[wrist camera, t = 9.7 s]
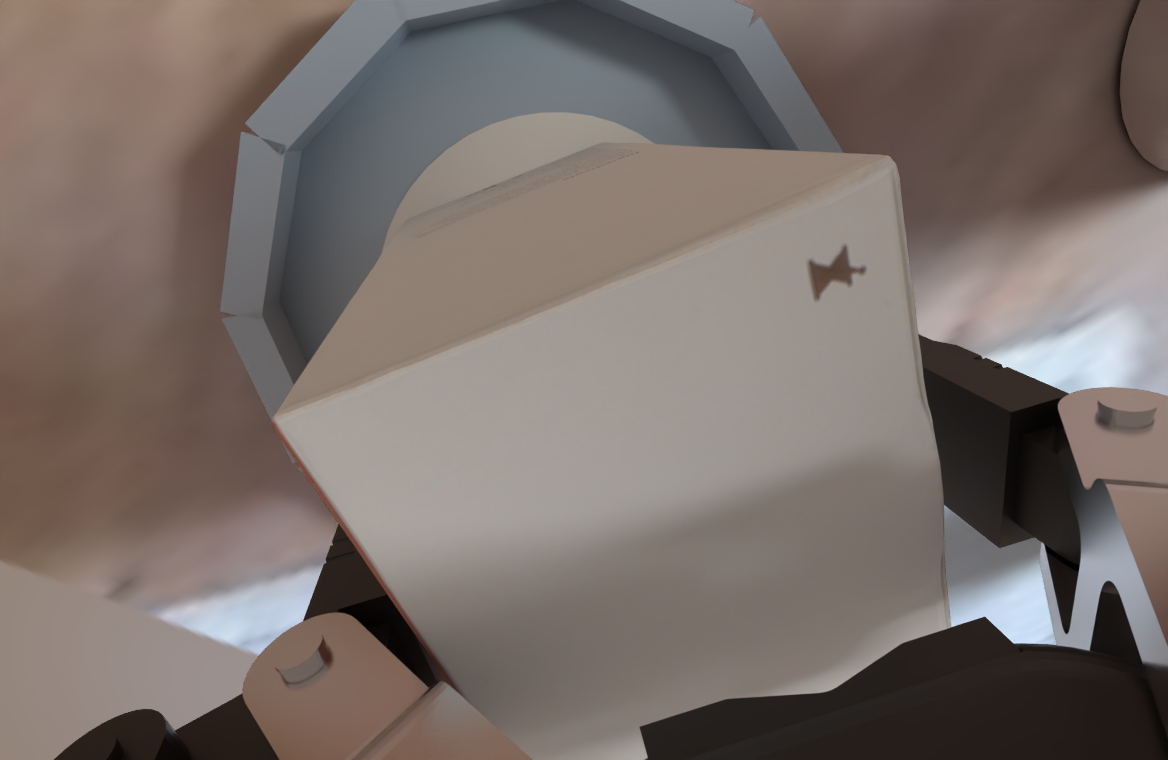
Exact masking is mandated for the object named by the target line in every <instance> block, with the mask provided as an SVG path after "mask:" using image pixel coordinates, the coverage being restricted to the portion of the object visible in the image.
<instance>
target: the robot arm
mask: <svg viewBox="0 0 1168 760" xmlns="http://www.w3.org/2000/svg"><path fill="white" fill-rule="evenodd" d="M1120 99H1121V107H1122V115H1123V121H1124V123H1125V126H1126V129H1127V132H1128V134H1129V137H1130V140H1131V142H1132V143H1133V145H1134V146H1135V147H1136V149H1137V150H1138V151H1139V153H1140V154H1141V155H1142V157H1143V158H1144V159H1146V160H1147V161H1149V162H1150V163H1151V164H1153V165H1154V166H1156V167H1157V168H1159V169H1161V170H1164V171H1168V0H1140V3H1139V5H1138V8H1137V10H1136V13H1135V16H1134V18H1133V21H1132V23H1131V26H1130V29H1129V33H1128V37H1127V41H1126V46H1125V50H1124V54H1123V59H1122V66H1121V81H1120ZM918 336H919V343H920V350H921V358H922V368H923V377H924V384H925V390H926V396H927V401H928V406H929V409H930V412H931V416H932V422H933V428H934V434H935V439H936V445H937V450H938V455H939V461H940V468H941V477H942V487H943V496H944V505H945V506H947V507H948V508H949V509H950V510H952V511H953V512H954V513H955V514H957V515H958V516H959V517H961V518H962V519H963V520H964V521H966V522H967V523H968V524H969V525H971V526H972V527H973V528H975V529H976V530H977V531H978V532H980V533H981V534H982V535H983V536H985V537H986V538H987V539H989V540H990V541H991V542H992V543H994V544H995V545H996V546H997V547H999V548H1001V547H1005V546H1008V545H1011V544H1014V543H1017V542H1021V541H1024V540H1027V539H1030V538H1034V537H1035V538H1037V539H1038V540H1039V541H1041V548H1040V556H1039V562H1040V568H1041V573H1042V578H1043V583H1044V588H1045V593H1046V597H1047V602H1048V607H1049V612H1050V617H1051V622H1052V627H1053V632H1054V637H1055V642H1056V645H1049V644H1013V643H1012V642H1011V641H1010V640H1009V639H1008V638H1007V637H1006V636H1005V635H1004V634H1003V633H1002V632H1001V631H1000V630H998V629H997V628H996V627H995V626H994V625H993V624H992V623H991V622H990V621H989V620H988V619H987V618H986V617H982V618H979V619H976V620H973V621H970V622H967V623H964V624H960V625H957V626H954V627H951V628H948V629H945V630H942V631H938V632H935V633H932V634H929V635H926V636H923V637H920V638H916V639H913V640H910V641H907V642H904V643H902V644H900V645H899V646H897V647H896V648H894V649H893V650H891V651H890V652H888V653H887V654H885V655H884V656H882V657H881V658H879V659H878V660H876V661H875V662H873V663H872V664H870V665H869V666H867V667H866V668H865V669H863V670H862V671H860V672H859V673H857V674H856V675H854V676H853V677H851V678H850V679H848V680H847V681H845V682H844V683H842V684H841V685H839V686H838V687H836V688H834V689H832V690H830V691H827V692H822V693H810V694H795V695H779V696H764V697H748V698H733V699H725V700H722V701H718V702H715V703H712V704H709V705H706V706H703V707H700V708H696V709H693V710H690V711H687V712H684V713H681V714H678V715H674V716H671V717H668V718H665V719H662V720H659V721H656V722H653V723H649V724H646V725H643V726H640V731H641V735H642V738H643V742H644V746H645V749H646V753H647V757H648V758H646V759H645V760H1168V396H1165V395H1162V394H1158V393H1154V392H1150V391H1144V390H1138V389H1130V388H1115V387H1105V388H1091V389H1085V390H1080V391H1076V392H1073V393H1071V394H1069V393H1066V392H1064V391H1062V390H1059V389H1057V388H1055V387H1052V386H1050V385H1048V384H1045V383H1043V382H1041V381H1038V380H1036V379H1034V378H1031V377H1029V376H1027V375H1025V374H1022V373H1020V372H1018V371H1015V370H1013V369H1011V368H1008V367H1006V368H1003V367H1002V365H1001V364H999V363H997V362H994V361H992V360H990V359H987V358H985V359H982V357H981V356H980V355H978V354H976V353H974V352H971V351H969V350H967V349H964V348H962V347H960V346H957V345H953V344H947V343H942V342H937V341H932V340H930V339H928V338H926V337H923V336H921V335H919V334H918ZM332 543H333V545H332V546H330V549H329V552H328V554H327V557H326V564H324V565H323V568H322V571H321V574H320V576H319V579H318V582H317V584H316V587H315V590H314V593H313V595H312V598H311V601H310V604H309V606H308V609H307V612H306V614H305V617H304V620H303V622H301V623H299V624H297V625H295V626H294V627H292V628H290V629H289V630H287V631H286V632H284V633H283V634H281V635H280V636H279V637H278V638H276V639H275V640H274V641H273V642H272V643H271V644H270V645H268V646H267V647H266V648H265V649H264V651H263V652H262V653H261V654H260V655H259V656H258V658H257V659H256V660H255V662H254V663H253V664H252V666H251V668H250V669H249V671H248V673H247V675H246V678H245V680H244V685H243V693H242V694H241V695H239V696H237V697H236V698H234V699H232V700H230V701H228V702H227V703H225V704H223V705H221V706H219V707H217V708H216V709H214V710H212V711H210V712H208V713H206V714H204V715H203V716H201V717H199V718H197V719H195V720H193V721H192V722H190V723H188V724H186V725H185V726H182V727H181V728H179V729H177V730H174V729H173V728H172V727H171V725H170V724H169V723H168V721H167V720H166V719H165V718H164V716H163V715H162V714H161V713H159V712H158V711H155V710H152V709H141V710H135V711H131V712H128V713H124V714H122V715H120V716H117V717H115V718H113V719H110V720H108V721H106V722H104V723H102V724H101V725H99V726H97V727H96V728H94V729H92V730H91V731H89V732H88V733H86V734H85V735H83V736H82V737H81V738H79V739H78V740H76V741H75V742H74V743H73V744H71V745H70V746H69V747H68V748H66V749H65V750H64V751H63V752H62V753H61V754H60V755H58V756H57V757H56V758H55V759H54V760H532V759H531V758H530V757H529V756H528V755H527V754H526V753H525V752H524V751H522V750H521V749H520V748H519V747H518V746H517V745H516V744H515V743H513V742H512V741H511V740H510V739H509V738H508V737H507V736H506V735H505V734H503V733H502V732H501V731H500V730H499V729H498V728H497V727H496V726H495V725H493V724H492V723H491V722H490V721H489V720H488V719H487V718H486V717H484V716H483V715H482V714H481V713H480V712H479V711H478V710H477V709H476V708H474V707H473V706H472V705H471V704H470V703H469V702H468V701H467V700H466V699H464V698H463V697H462V696H461V695H460V694H459V693H458V692H457V691H455V690H454V689H453V688H452V687H451V686H450V684H449V683H448V681H447V680H446V678H445V676H444V675H443V673H442V671H441V670H440V668H439V667H438V665H437V664H436V663H435V661H434V660H433V658H432V657H431V656H430V654H429V653H428V652H427V650H426V649H425V648H424V646H423V645H422V643H421V642H420V641H419V639H418V638H417V636H416V635H415V633H414V632H413V631H412V629H411V628H410V626H409V625H408V623H407V622H406V620H405V619H404V618H403V616H402V615H401V613H400V612H399V610H398V609H397V607H396V606H395V605H394V603H393V602H392V600H391V599H390V597H389V596H388V594H387V593H386V591H385V590H384V589H383V587H382V586H381V584H380V583H379V581H378V580H377V578H376V577H375V575H374V574H373V572H372V571H371V570H370V568H369V567H368V565H367V564H366V562H365V561H364V559H363V558H362V556H361V555H360V553H359V552H358V550H357V549H356V547H355V546H354V545H353V543H352V542H351V540H350V539H349V537H348V536H347V535H346V533H345V532H344V530H343V529H342V527H341V526H340V525H339V524H338V527H337V530H336V533H335V535H334V538H333V541H332Z"/></svg>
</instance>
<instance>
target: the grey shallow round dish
mask: <svg viewBox="0 0 1168 760" xmlns="http://www.w3.org/2000/svg"><path fill="white" fill-rule="evenodd" d="M754 11H755V10H753V9H750V8H748V7H746V6H744V5H742V4H740V3H737V2H735V1H733V0H355V1H354V2H353V3H352V4H351V6H350V7H349V8H348V9H347V10H346V11H345V12H344V13H343V14H342V16H341V17H340V18H339V19H338V20H337V21H336V22H335V23H334V24H333V26H332V27H331V28H330V29H329V30H328V31H327V32H326V33H325V34H324V36H323V37H322V38H321V39H320V40H319V41H318V42H317V43H316V44H315V46H314V47H313V48H312V49H311V50H310V51H309V52H308V53H307V55H306V56H305V57H304V58H303V59H302V60H301V61H300V62H299V63H298V65H297V66H296V67H295V68H294V69H293V70H292V71H291V72H290V73H289V75H288V76H287V77H286V78H285V79H284V80H283V81H282V82H281V83H280V85H279V86H278V87H277V88H276V89H275V90H274V91H273V92H272V93H271V95H270V96H269V97H268V98H267V99H266V100H265V101H264V102H263V103H262V105H261V106H260V107H259V108H258V109H257V110H256V111H255V112H254V113H253V115H252V116H251V117H250V118H249V119H248V120H247V121H246V122H245V124H246V125H247V126H248V127H249V128H250V129H251V130H252V131H254V132H241V136H240V144H239V153H238V161H237V170H236V178H235V187H234V195H233V204H232V213H231V221H230V230H229V238H228V247H227V255H226V264H225V272H224V281H223V289H222V298H221V306H220V312H224V313H228V315H227V316H225V317H224V318H223V319H221V320H222V322H223V324H224V326H225V328H226V330H227V332H228V334H229V336H230V338H231V340H232V342H233V344H234V346H235V348H236V350H237V352H238V355H239V357H240V359H241V361H242V363H243V365H244V367H245V369H246V371H247V373H248V375H249V377H250V379H251V381H252V383H253V385H254V387H255V389H256V391H257V393H258V395H259V397H260V399H261V401H262V403H263V405H264V408H265V410H266V412H267V414H268V416H269V418H270V420H271V422H272V417H273V416H274V414H275V413H276V412H277V410H278V409H279V408H280V406H281V405H282V403H283V402H284V400H285V398H286V397H287V395H288V393H289V392H290V390H291V389H292V387H293V386H294V384H295V383H296V381H297V380H298V378H299V377H300V375H301V374H302V372H303V371H304V369H305V368H306V366H307V365H308V363H309V362H310V360H311V359H312V357H313V356H314V354H315V353H316V351H317V350H318V348H319V347H320V345H321V344H322V342H323V341H324V339H325V338H326V336H327V335H328V333H329V332H330V330H331V329H332V328H333V326H334V325H335V323H336V322H337V320H338V319H339V317H340V316H341V314H342V313H343V311H344V310H345V308H346V307H347V305H348V304H349V302H350V301H351V299H352V298H353V296H354V295H355V294H356V292H357V291H358V289H359V287H360V286H361V285H362V283H363V282H364V280H365V279H366V278H367V276H368V274H369V273H370V271H371V270H372V269H373V267H374V266H375V264H376V262H377V261H378V259H379V257H380V256H381V254H382V253H383V251H384V250H385V249H386V247H387V246H388V244H389V243H390V242H391V240H392V239H393V238H394V236H395V235H396V233H397V232H398V230H399V229H400V228H401V226H402V225H403V223H404V222H405V221H406V220H407V219H409V218H411V217H414V216H416V215H419V214H421V213H424V212H426V211H429V210H431V209H434V208H436V207H439V206H442V205H444V204H447V203H449V202H452V201H454V200H457V199H460V198H462V197H465V196H467V195H470V194H472V193H475V192H478V191H480V190H483V189H485V188H488V187H490V186H493V185H495V184H498V183H500V182H503V181H505V180H508V179H510V178H513V177H515V176H518V175H521V174H523V173H526V172H528V171H531V170H533V169H536V168H538V167H541V166H543V165H546V164H548V163H551V162H553V161H556V160H558V159H561V158H563V157H566V156H568V155H571V154H573V153H576V152H578V151H581V150H583V149H586V148H588V147H591V146H594V145H596V144H599V143H647V144H664V145H680V146H696V147H713V148H740V149H765V150H788V151H811V152H832V153H844V152H843V150H842V149H841V147H840V145H839V144H838V142H837V140H836V139H835V137H834V136H833V134H832V132H831V131H830V129H829V127H828V126H827V124H826V122H825V121H824V119H823V117H822V116H821V114H820V113H819V111H818V109H817V108H816V106H815V104H814V103H813V101H812V99H811V98H810V96H809V95H808V93H807V91H806V90H805V88H804V86H803V85H802V83H801V81H800V80H799V78H798V76H797V75H796V73H795V72H794V70H793V68H792V67H791V65H790V63H789V62H788V60H787V58H786V57H785V55H784V54H783V52H782V50H781V49H780V47H779V45H778V44H777V42H776V40H775V39H774V37H773V36H772V34H771V32H770V31H769V29H768V27H767V26H766V24H765V22H764V21H763V19H762V17H761V16H759V17H757V18H755V19H752V16H753V13H754ZM751 19H752V20H751ZM281 442H282V441H281ZM282 444H283V443H282ZM283 446H284V444H283ZM284 448H285V450H286V452H287V454H288V456H289V458H290V460H291V463H292V464H294V463H296V461H295V460H294V459H293V457H292V456H291V454H290V453H289V451H288V450H287V449H286V447H285V446H284ZM297 470H299V471H300V472H302V470H301V469H300V467H299V466H298V468H297ZM302 473H303V472H302ZM303 474H304V473H303Z"/></svg>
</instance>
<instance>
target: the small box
mask: <svg viewBox="0 0 1168 760" xmlns="http://www.w3.org/2000/svg"><path fill="white" fill-rule="evenodd" d="M272 426H273V428H274V431H275V433H276V434H277V436H278V437H279V438H280V440H281V441H282V443H283V444H284V446H285V447H286V449H287V450H288V451H289V453H290V454H291V456H292V457H293V459H294V460H295V461H296V463H297V464H298V466H299V467H300V469H301V470H302V472H303V473H304V474H305V476H306V477H307V479H308V480H309V482H310V483H311V485H312V486H313V487H314V489H315V490H316V492H317V493H318V495H319V496H320V498H321V499H322V500H323V502H324V503H325V505H326V506H327V507H328V509H329V510H330V512H331V513H332V515H333V516H334V517H335V519H336V520H337V522H338V523H339V525H340V526H341V527H342V529H343V530H344V532H345V533H346V535H347V536H348V537H349V539H350V540H351V542H352V543H353V545H354V546H355V547H356V549H357V550H358V552H359V553H360V555H361V556H362V558H363V559H364V561H365V562H366V564H367V565H368V567H369V568H370V570H371V571H372V572H373V574H374V575H375V577H376V578H377V580H378V581H379V583H380V584H381V586H382V587H383V589H384V590H385V591H386V593H387V594H388V596H389V597H390V599H391V600H392V602H393V603H394V605H395V606H396V607H397V609H398V610H399V612H400V613H401V615H402V616H403V618H404V619H405V620H406V622H407V623H408V625H409V626H410V628H411V629H412V631H413V632H414V633H415V635H416V636H417V638H418V639H419V641H420V642H421V643H422V645H423V646H424V648H425V649H426V650H427V652H428V653H429V654H430V656H431V657H432V658H433V660H434V661H435V663H436V664H437V665H438V667H439V668H440V670H441V671H442V673H443V675H444V676H445V678H446V680H447V681H448V683H449V684H450V686H451V687H452V688H453V689H454V690H455V691H457V692H458V693H459V694H460V695H461V696H462V697H463V698H464V699H466V700H467V701H468V702H469V703H470V704H471V705H472V706H473V707H474V708H476V709H477V710H478V711H479V712H480V713H481V714H482V715H483V716H484V717H486V718H487V719H488V720H489V721H490V722H491V723H492V724H493V725H495V726H496V727H497V728H498V729H499V730H500V731H501V732H502V733H503V734H505V735H506V736H507V737H508V738H509V739H510V740H511V741H512V742H513V743H515V744H516V745H517V746H518V747H519V748H520V749H521V750H522V751H524V752H525V753H526V754H527V755H528V756H529V757H530V758H531V759H532V760H645V759H646V758H648V757H647V753H646V749H645V746H644V742H643V738H642V735H641V731H640V726H643V725H646V724H649V723H653V722H656V721H659V720H662V719H665V718H668V717H671V716H674V715H678V714H681V713H684V712H687V711H690V710H693V709H696V708H700V707H703V706H706V705H709V704H712V703H715V702H718V701H722V700H725V699H733V698H748V697H764V696H779V695H795V694H810V693H822V692H827V691H830V690H832V689H834V688H836V687H838V686H839V685H841V684H842V683H844V682H845V681H847V680H848V679H850V678H851V677H853V676H854V675H856V674H857V673H859V672H860V671H862V670H863V669H865V668H866V667H867V666H869V665H870V664H872V663H873V662H875V661H876V660H878V659H879V658H881V657H882V656H884V655H885V654H887V653H888V652H890V651H891V650H893V649H894V648H896V647H897V646H899V645H900V644H902V643H904V642H907V641H910V640H913V639H916V638H920V637H923V636H926V635H929V634H932V633H935V632H938V631H942V630H945V629H948V628H951V622H950V609H949V601H948V592H947V583H946V570H945V554H944V496H943V487H942V477H941V468H940V461H939V455H938V450H937V445H936V439H935V434H934V428H933V422H932V416H931V412H930V409H929V406H928V401H927V396H926V390H925V384H924V377H923V368H922V358H921V350H920V343H919V336H918V329H917V319H916V309H915V300H914V293H913V287H912V280H911V274H910V267H909V259H908V250H907V241H906V232H905V224H904V215H903V207H902V197H901V185H900V177H899V173H898V169H897V165H896V163H895V162H894V161H893V160H892V158H891V157H890V156H887V155H878V154H856V153H832V152H811V151H788V150H765V149H740V148H713V147H696V146H680V145H664V144H647V143H599V144H596V145H594V146H591V147H588V148H586V149H583V150H581V151H578V152H576V153H573V154H571V155H568V156H566V157H563V158H561V159H558V160H556V161H553V162H551V163H548V164H546V165H543V166H541V167H538V168H536V169H533V170H531V171H528V172H526V173H523V174H521V175H518V176H515V177H513V178H510V179H508V180H505V181H503V182H500V183H498V184H495V185H493V186H490V187H488V188H485V189H483V190H480V191H478V192H475V193H472V194H470V195H467V196H465V197H462V198H460V199H457V200H454V201H452V202H449V203H447V204H444V205H442V206H439V207H436V208H434V209H431V210H429V211H426V212H424V213H421V214H419V215H416V216H414V217H411V218H409V219H407V220H406V221H405V222H404V223H403V225H402V226H401V228H400V229H399V230H398V232H397V233H396V235H395V236H394V238H393V239H392V240H391V242H390V243H389V244H388V246H387V247H386V249H385V250H384V251H383V253H382V254H381V256H380V257H379V259H378V261H377V262H376V264H375V266H374V267H373V269H372V270H371V271H370V273H369V274H368V276H367V278H366V279H365V280H364V282H363V283H362V285H361V286H360V287H359V289H358V291H357V292H356V294H355V295H354V296H353V298H352V299H351V301H350V302H349V304H348V305H347V307H346V308H345V310H344V311H343V313H342V314H341V316H340V317H339V319H338V320H337V322H336V323H335V325H334V326H333V328H332V329H331V330H330V332H329V333H328V335H327V336H326V338H325V339H324V341H323V342H322V344H321V345H320V347H319V348H318V350H317V351H316V353H315V354H314V356H313V357H312V359H311V360H310V362H309V363H308V365H307V366H306V368H305V369H304V371H303V372H302V374H301V375H300V377H299V378H298V380H297V381H296V383H295V384H294V386H293V387H292V389H291V390H290V392H289V393H288V395H287V397H286V398H285V400H284V402H283V403H282V405H281V406H280V408H279V409H278V410H277V412H276V413H275V414H274V416H273V417H272Z"/></svg>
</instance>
